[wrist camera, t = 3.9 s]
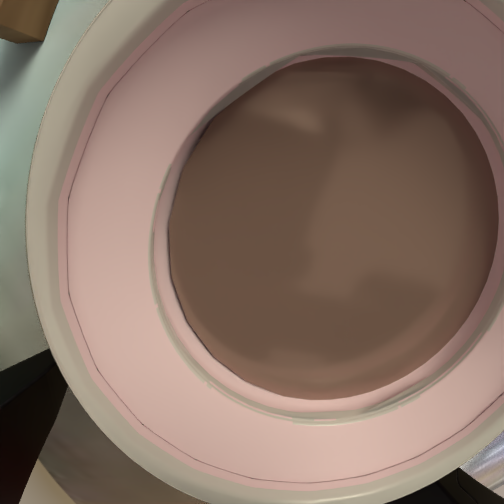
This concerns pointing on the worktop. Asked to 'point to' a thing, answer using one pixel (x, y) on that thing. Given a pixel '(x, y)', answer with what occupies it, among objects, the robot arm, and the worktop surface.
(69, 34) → the worktop surface
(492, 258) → the teacup
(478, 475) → the worktop surface
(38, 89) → the worktop surface
